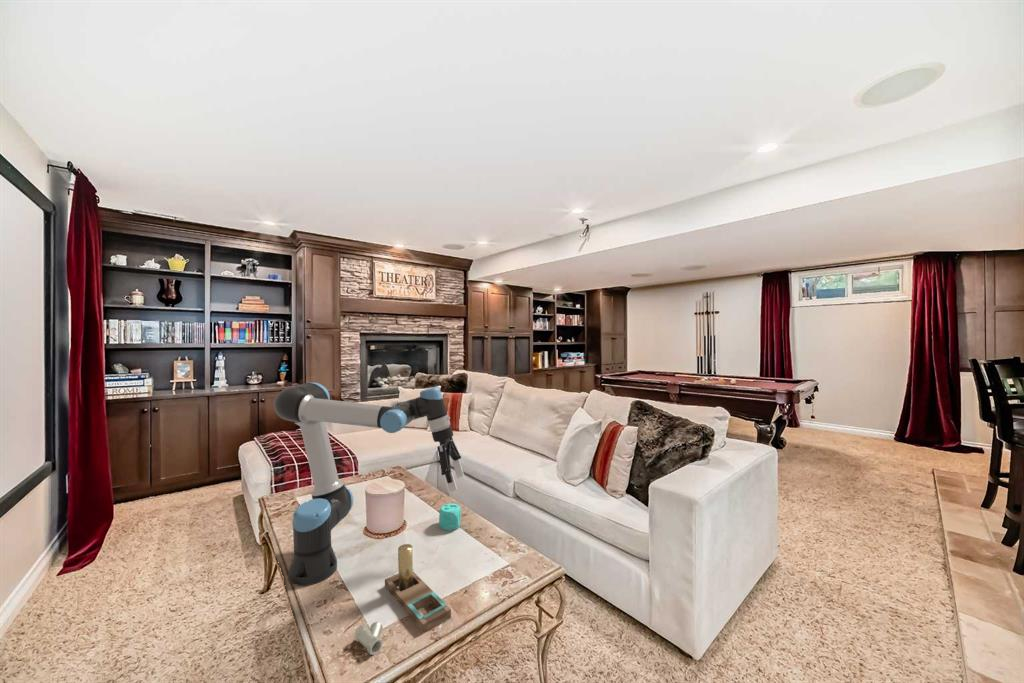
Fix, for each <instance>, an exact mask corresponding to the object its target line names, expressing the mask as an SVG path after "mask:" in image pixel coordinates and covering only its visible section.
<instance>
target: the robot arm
mask: <svg viewBox="0 0 1024 683" xmlns="http://www.w3.org/2000/svg"><path fill="white" fill-rule="evenodd" d="M273 408H274V412H275V413H276V415H277V416H278V417H279V418H280V419H283V420H285V421H289V422H294V423H293V424H295V425H297V426H299V428H300V431H301V435H302V441H303V445H304V448H305V453H306V458H307V461H308V466H309V470H310V471H309V472H310V475H311V479H312V482H313V486H314V489H313V490H312V492H311V499H309V500H308V501H304V502H303V503H301V504H299V505H298V506H297V507H296V509H295V510H294V512H293V515H292V516H293V517H292V531H293V532H292V534H293V535H292V536H293V537H292V538H293V556H292V559H291V562H290V565H289V569H288V581H289V582H290V583H291V584H293V585H296V586H310V585H313V584H317V583H319V582H323V581H325V580H326V579H328V578H330V577H331V576H332V575H333V574H335V572H336V571H337V568H338V559H337V556H336V554H335V551H334V548H333V546H332V530H333V529H334V528H335V527H336V526H337V525H338V524H339V523H340V522H341V521H342V520H344V518H346V517H347V516H348V514H349V513H350V511H351V510H352V509H353V508H352V507H353V505H354V495H353V492H352V491H351V489H350V488H348V487H347V486H346V484H345V483H344V481H343V480H340V479H339V474H338V471H337V467H336V466H337V465H336V460H335V458H334V453H333V449H332V445H331V441H330V437H329V436H330V435H329V432H328V428H327V424H326V423H331V424H332V423H333V424H340V425H349V426H359V427H365V428H367V427H368V428H376V429H382V430H383V431H384V432H386V433H388V434H395V433H397V432H399V431H401V430H403V429H404V428H405V427H406V426H407V425H408V424H410V423H411V422H412V421H414V420H418V419H422V418H427V423H428V426H429V430H430V432H431V435H432V436H431V437H432V439H433V442H435V443H439V445H438V446H437V452H438V456H439V465H440V470H441V476H444V478H445V480H446V486H447V488H448V491H449V493H452V492H454V491H457V490H458V487H457V483H456V480H455V476H454V474H453V472H452V471H451V470H452V467H451V466H452V465H453V469H454V472H455V475H456V478H457V479H459V478H461V477H464V476H465V473H464V469H463V467H462V463H461V461H460V460H461V459H462V455H460V451H459V450H458V448H457V445H456V443H455V442H454V439H453V436H454V431H453V428H452V426H451V422H450V420H451V417H450V416H449V414H448V412H447V409H446V405H445V401H444V396H443V395H442V392H441V389H440V388H439V386H434V387H430V388H426V389H423V390H421V391H420V392H419V396H418V397H416V398H412V399H408V400H404V401H400V402H398V403H395V404H392V405H391V406H388V405H387V406H386V405H385V406H384V405H379V404H378V405H377V404H370V403H362V402H361V403H360V402H352V401H342V400H335V399H331V398H330V392H329V390H328V389H327V388H326V387H325V386H324V385H323V384H321V383H319V382H305V383H301V384H299V385H294V386H290V387H288V388H284V389H283V390H281V391H280V392H279V393H278V394H277V395H276V397H275V399H274V402H273ZM451 459H452V465H451Z"/></svg>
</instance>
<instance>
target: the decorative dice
mask: <svg viewBox="0 0 1024 683" xmlns="http://www.w3.org/2000/svg"><path fill="white" fill-rule="evenodd" d="M461 509H462V508H461V506H460V505H458V504H457V503H446V504H444V505H442V506H441V507H440V509H439V514H438V515H439V517H438V523H439V524H438V525H439V527H440V528H441V529H442V530H444V531H454V530H457V529H458V528H460V526H461V521H462V520H461V518H462V510H461Z"/></svg>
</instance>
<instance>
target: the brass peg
mask: <svg viewBox="0 0 1024 683" xmlns="http://www.w3.org/2000/svg"><path fill="white" fill-rule="evenodd" d="M397 549H398V550H397V552H398V554H397V555H398V557H397V558H398V559H397V560H398V573H399V586H398V589H399V590H400V591H404V590H406V589H408V588H410V587H412V586H414V584H413V572H414V571H413V564H414V563H413V545H412V544H410V543H404V544H401V545H399V546H398V548H397Z"/></svg>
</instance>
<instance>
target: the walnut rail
mask: <svg viewBox="0 0 1024 683" xmlns="http://www.w3.org/2000/svg"><path fill="white" fill-rule="evenodd" d="M384 588H385V589H386V590H387V591H388V592H389V594H390V595H391V596H392V597H393V598H394V600H395V601H396V602H397V603H398V604H399V606H400V607H401V608H402V609H403V611H404V612H405V613H406V614H407V615H408V617H409V618H410V619H411V620H412V621H413V622H414V624H415V625H416V626H417V627H418V628H419V630H420V631H421V633H423V634H424V633H426V632H427V631H429V630H431V629H433V628H435V627H437V626H438V625H440V624H442V623H444V622H445V621H447V620H449V619H451V618H452V609H451V608H450V607H449V606H448V605H447V603H446V602H445V601H443V599H442V598H441V597H440V596H439V595H437V593H436V592H435V591H434V590H432V589H431V588H430V586H428V584H426V583H425V581H424V580H422V579H421V578H420V577H419V575H417V573H416V572H415V571H413V586H412V587H410V588H408V589H406V590H404V591H400V590H399V572H398V573H396V574H394V575H393V574H392V576H389V577H386V578H385V579H384ZM430 604H432V605H433V606H434V607H435V609H433V610H431V611H429V612H427V613H426V614H424V615H422V614H421V612H420V611H419V610H420V609H422V608H425V607H426V606H429V605H430Z"/></svg>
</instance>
